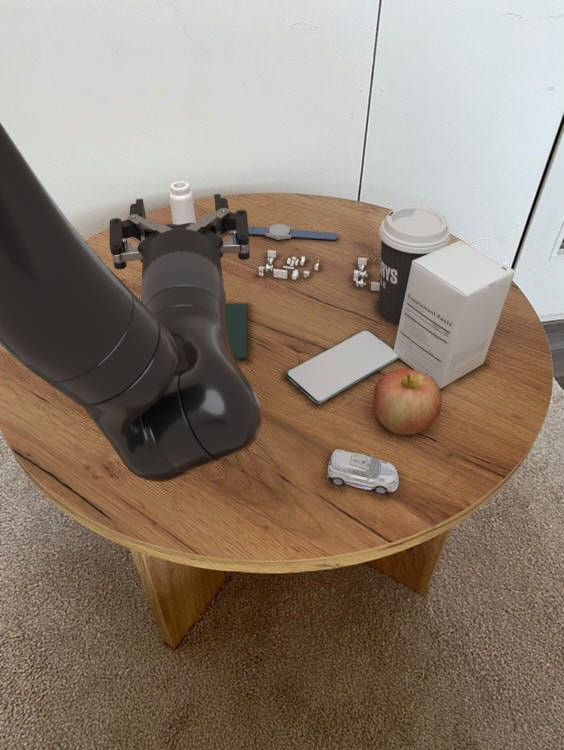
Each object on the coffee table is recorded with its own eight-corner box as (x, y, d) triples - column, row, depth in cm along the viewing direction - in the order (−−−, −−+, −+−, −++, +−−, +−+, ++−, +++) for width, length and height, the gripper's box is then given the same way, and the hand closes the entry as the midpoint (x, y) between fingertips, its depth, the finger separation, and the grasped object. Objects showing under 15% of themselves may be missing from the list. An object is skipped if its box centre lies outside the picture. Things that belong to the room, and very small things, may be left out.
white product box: (435, 329, 84) (460, 237, 74) (484, 364, 79) (519, 270, 68) (390, 353, 80) (410, 258, 70) (438, 391, 75) (468, 295, 64)
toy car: (396, 498, 63) (400, 482, 61) (324, 483, 65) (326, 467, 63) (399, 471, 66) (403, 455, 64) (330, 457, 67) (332, 441, 65)
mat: (143, 362, 79) (142, 359, 78) (153, 308, 87) (152, 305, 87) (246, 359, 79) (246, 357, 79) (246, 306, 88) (246, 303, 87)
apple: (358, 430, 70) (364, 383, 65) (384, 390, 75) (393, 343, 70) (420, 457, 67) (433, 411, 62) (444, 413, 72) (458, 367, 67)
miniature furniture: (269, 251, 98) (269, 244, 97) (419, 271, 94) (420, 263, 93) (259, 275, 93) (258, 267, 92) (416, 297, 89) (417, 289, 88)
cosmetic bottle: (217, 345, 80) (202, 197, 65) (173, 344, 81) (148, 197, 65) (221, 318, 85) (208, 173, 70) (179, 317, 85) (157, 173, 70)
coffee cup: (398, 284, 92) (413, 195, 81) (446, 313, 87) (468, 222, 76) (355, 307, 88) (365, 217, 77) (402, 339, 82) (420, 247, 72)
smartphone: (283, 373, 76) (366, 328, 83) (283, 376, 77) (366, 331, 83) (317, 403, 72) (402, 354, 79) (317, 406, 73) (401, 357, 79)
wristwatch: (227, 224, 105) (226, 219, 104) (338, 232, 103) (338, 227, 102) (222, 237, 102) (222, 231, 101) (337, 245, 100) (337, 240, 99)
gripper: (258, 247, 52) (241, 167, 63) (95, 259, 50) (107, 176, 62) (260, 313, 57) (244, 229, 69) (112, 326, 56) (121, 238, 67)
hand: (179, 204), depth 65 cm, fingers open, 8 cm apart
